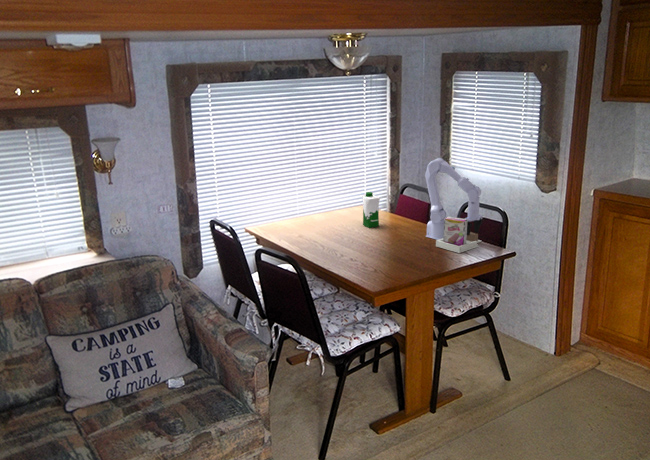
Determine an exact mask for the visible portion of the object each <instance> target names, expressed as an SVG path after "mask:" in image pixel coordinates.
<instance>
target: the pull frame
mask: <svg viewBox="0 0 650 460" xmlns="http://www.w3.org/2000/svg"><path fill="white" fill-rule="evenodd" d="M443 241H444V238H443V239H440V240H436V239H435V247H436V248H441V249H444V250H447V251H450V252H455V253H456V254H457V253H458V254H460V253H463V252H466V251H469V250H472V249H474V248H478V247H479V244H478V243H481V242H482V240H480V239H479V233H476V232H472V231H470V235H469V236H468V235H467V238H466V244H464V245H461V246H457V245H453V244H450V243H446V242H443Z"/></svg>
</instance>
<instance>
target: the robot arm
mask: <svg viewBox="0 0 650 460" xmlns="http://www.w3.org/2000/svg"><path fill="white" fill-rule="evenodd" d="M438 173H445V174H447V175H448V176H449V177H451V178H452V179H453V180H455V182H457V186H458V187H459V188H460V189H462V190H463V191H464V192H465V193H466V194H467V197H468V202H467V203H468V204H467V205H468V206H467V217H465V218H464V219H468V222H467V235H468V236H469V235H470V232H471V230H472V227H473V233H476V234H479V231H480V228H481V226H482V224H483V223H484V220H483V215H482V214H479V213H480V198H481V197H480V196H481V194H482V189H481V188H480V187H479V186H478V185H476V184H473V182H471V181H470V179H469V178H468V177H465V176H464V177H463V176H461V175H460V174H459V173H458V172H457V171H456V170H455V169H454V168H453V167H452V166H451V165H450V164H449V163H448V162H447V161H446V160H445V159H444V158H442V157H437V158H436V159H434V160H431V161H430V162H429V163H428V164H427V168H426V170H425V173H424V177H425V178H424V179H425V182H426V186H427V193H428V197H429V200H430V201H429V202H430V205H431V208H430V220H429V221H428V222H427V224H426V235H425V237H426V238H430V239H433V240H435V241H436V240H440V239H443V238H444V221H445V218H446V217H447V211H446V210H445V209H444V206H443V205H442V202H441V198H440V193H439V189H438V188H439V187H438V184H437V179H436V176H437V174H438ZM471 222H473V223H471Z"/></svg>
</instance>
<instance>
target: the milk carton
mask: <svg viewBox="0 0 650 460" xmlns="http://www.w3.org/2000/svg"><path fill="white" fill-rule="evenodd" d="M380 199H381V197H380V196H378V195H374V194H373V192H371V191H367V192H365V195H363V196H362V203H363V205H362V206H363V207H362V209H363V210H362V216H363V218H362V226H363V225H364V227H366V228H368V229H373V228H377V226H379V227H380V219H379V211H380V210H379V208H380V207H379V206H380ZM372 227H373V228H372Z"/></svg>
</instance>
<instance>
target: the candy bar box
mask: <svg viewBox="0 0 650 460" xmlns="http://www.w3.org/2000/svg"><path fill="white" fill-rule="evenodd" d="M467 222H468V219H465V218H461V217H453V216H446V217H445V218H444V241H443V242H446V243H450V244H453V245H457V246H461V245H464V244H466V238H467Z"/></svg>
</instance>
